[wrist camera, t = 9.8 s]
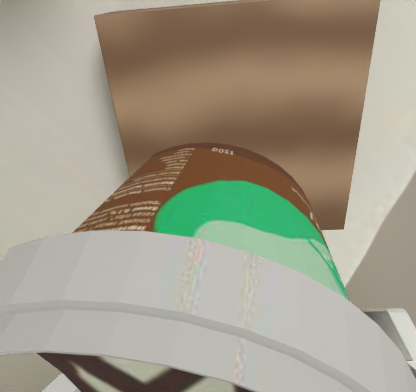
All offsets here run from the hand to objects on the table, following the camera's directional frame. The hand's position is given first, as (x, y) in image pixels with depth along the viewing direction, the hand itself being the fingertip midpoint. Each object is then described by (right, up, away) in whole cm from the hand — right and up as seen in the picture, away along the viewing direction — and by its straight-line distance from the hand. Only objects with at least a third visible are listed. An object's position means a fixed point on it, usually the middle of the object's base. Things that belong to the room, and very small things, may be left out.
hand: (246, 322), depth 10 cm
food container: (+1, +3, +5) cm, 6 cm away
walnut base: (+1, +10, +16) cm, 19 cm away
